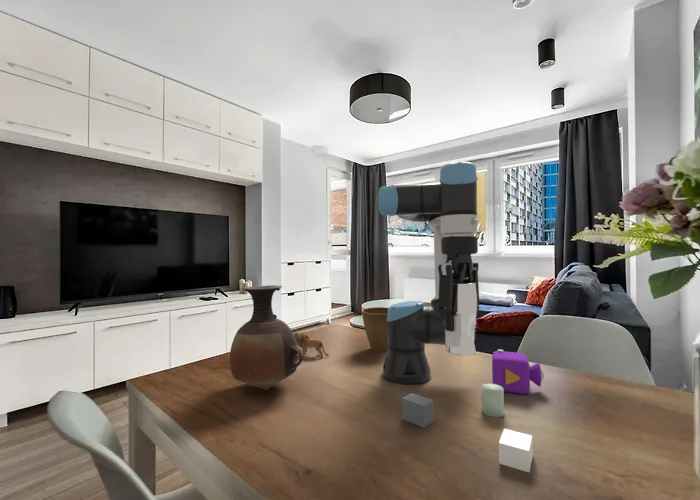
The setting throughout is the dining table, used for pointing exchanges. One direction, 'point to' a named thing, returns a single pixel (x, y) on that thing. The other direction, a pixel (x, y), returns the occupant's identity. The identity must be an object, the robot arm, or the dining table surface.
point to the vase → (264, 344)
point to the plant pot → (376, 327)
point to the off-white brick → (516, 450)
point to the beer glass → (465, 319)
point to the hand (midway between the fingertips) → (460, 342)
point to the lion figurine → (308, 343)
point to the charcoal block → (417, 410)
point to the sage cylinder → (492, 400)
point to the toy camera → (514, 372)
